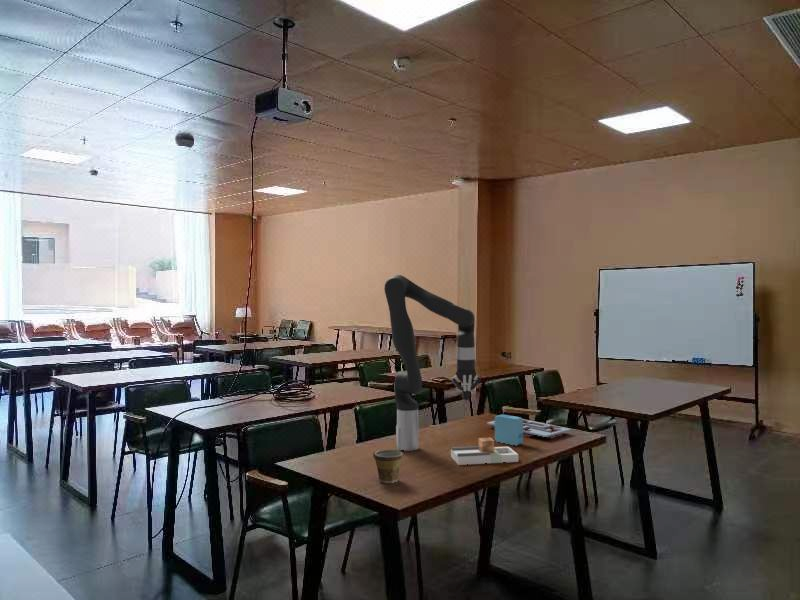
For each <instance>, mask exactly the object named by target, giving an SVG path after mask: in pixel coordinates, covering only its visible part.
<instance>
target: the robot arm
mask: <svg viewBox="0 0 800 600" xmlns="http://www.w3.org/2000/svg"><path fill="white" fill-rule="evenodd" d="M384 295H385V298H386V302H387V306H388V310H389V317H390V319H389V320H390V328H391V337H392V342H393V343H392V344H393V346H394V349H395V350H396V352H397V354H398V355H399V356H400V357H401V359H402V361H403V362H404V365H405V368H406V371H398V372H397V373H396V375H395V378H394V401H395V404H396V425H395V434H396V436H395V441H396V442H395V445H396V446H395V447H396V450H398V451H401V450H404V451H403V452H413V450H414V451H418V450H419V403H418V402H417V401H416V400H415V399H413V398H412V397H411V395H418V394H419V393H420V392H421V391H422V389H423V388H422V387H423V379H422V374H421V369H420V366H419V360H418V355H417V350H416V342H415V339H416V338H415V333H414V326H413V324H412V321H411V319H410V315H409V314H408V310H407V305H406V298H408V299H411V300H413V301H415V302H417V303H419V304H420V305H422V306H423V307H424V308H425V309H427V310H429V311H430V312H431V313H434V314H435V315H438V316H440V317H443V318H445V319H447V320H448V321H451V322H453V323H454V324H456V325H457V331H458V333H457V342H456V344H457V347H456V348H457V349H456V372H455V375H454V376H453V377H451V378H450V381H452V383H453V384H454V385H455V387H456V388H457V389H458V390H460V391H462V393H461V394H462V399H463V400H464V401H470V400H469V399H470V398H471V391H472V390H475V388H477V386H478V384H479V383H480V382H481V380H482V377H480V376H479V375H477V372H476V349H475V321H476V317H475V314H474V313H473V311H472V310H470V309H466V308H463V307H461V306H458V305H456V304H454V303H453V302H452V301H450V300H448V299H445V298H443V297H441V296H439V295H438V294H437V295H436V294H434V293H432V292H430V291H428V290H426V289H424V288H423V287H421V286H419V285H418V284H416V283H415V282H413V281H412V280H410V279H408V278H407V277H406V276H404V275H401V274H395V275H392V276H391V277H390V278H388V279H387V280H386V281H385V284H384ZM458 381H460V383H461V385H460V383H459V382H458Z"/></svg>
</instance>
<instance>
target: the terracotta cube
mask: <svg viewBox="0 0 800 600" xmlns="http://www.w3.org/2000/svg"><path fill="white" fill-rule="evenodd" d="M478 446H479V451H480V452H490V453H494V447H495V439H493V438H492V437H479V438H478Z"/></svg>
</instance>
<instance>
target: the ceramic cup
mask: <svg viewBox="0 0 800 600" xmlns="http://www.w3.org/2000/svg"><path fill="white" fill-rule="evenodd" d="M372 455H373V459H374V460H375V465H376V468H377V469H376V470H377V474H378V475H377V476H378V479H379V482H380V481H381V482H383V483H382V484H384V483H393V484H395V483H394V482H396V483H398V481H399V474H400V468H401V467H400V466H401V464H402V458H403V452H402V451H401V450H398V449H381V450H378V451H377V450H376V451H373V454H372ZM381 482H380V483H381Z"/></svg>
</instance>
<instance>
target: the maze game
mask: <svg viewBox="0 0 800 600" xmlns="http://www.w3.org/2000/svg"><path fill="white" fill-rule="evenodd" d="M522 420H523V435H524V436H527V437H526V438H528V437H530V438H532V437H531V436H533V437H534V436H535V435H537V436H536V437H540V436H542V437H541V438H544V437H547V438H546V439H549V438H553V439H556V438H555V437H557V438H560V437H563V434H564V433H567V432H571V431H572V428H568V427H562V426H557V425H554V424H548V423H544V422H539V421H534V420H529V419H524V418H522ZM486 424H487V425H490V426H491V429H492V428H493V429H492V430H495V420H492V421H488V422H486ZM524 436H523V437H524ZM559 436H560V437H559Z"/></svg>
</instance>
